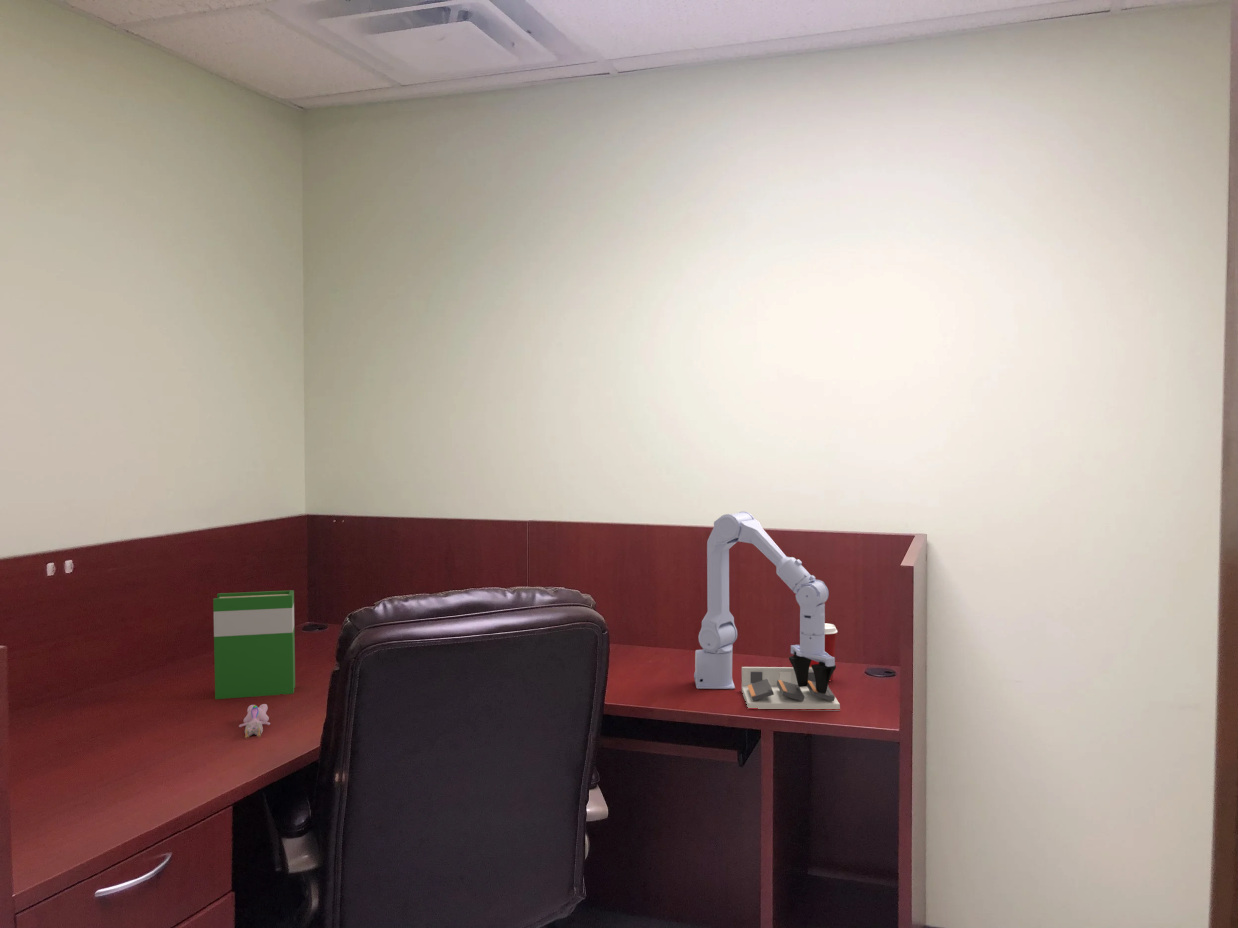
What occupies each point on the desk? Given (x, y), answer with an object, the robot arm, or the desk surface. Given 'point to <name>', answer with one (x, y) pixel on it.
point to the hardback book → (254, 644)
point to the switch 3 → (812, 688)
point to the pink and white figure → (255, 720)
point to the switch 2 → (790, 690)
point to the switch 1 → (760, 690)
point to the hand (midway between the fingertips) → (812, 689)
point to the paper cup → (828, 642)
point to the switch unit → (777, 700)
